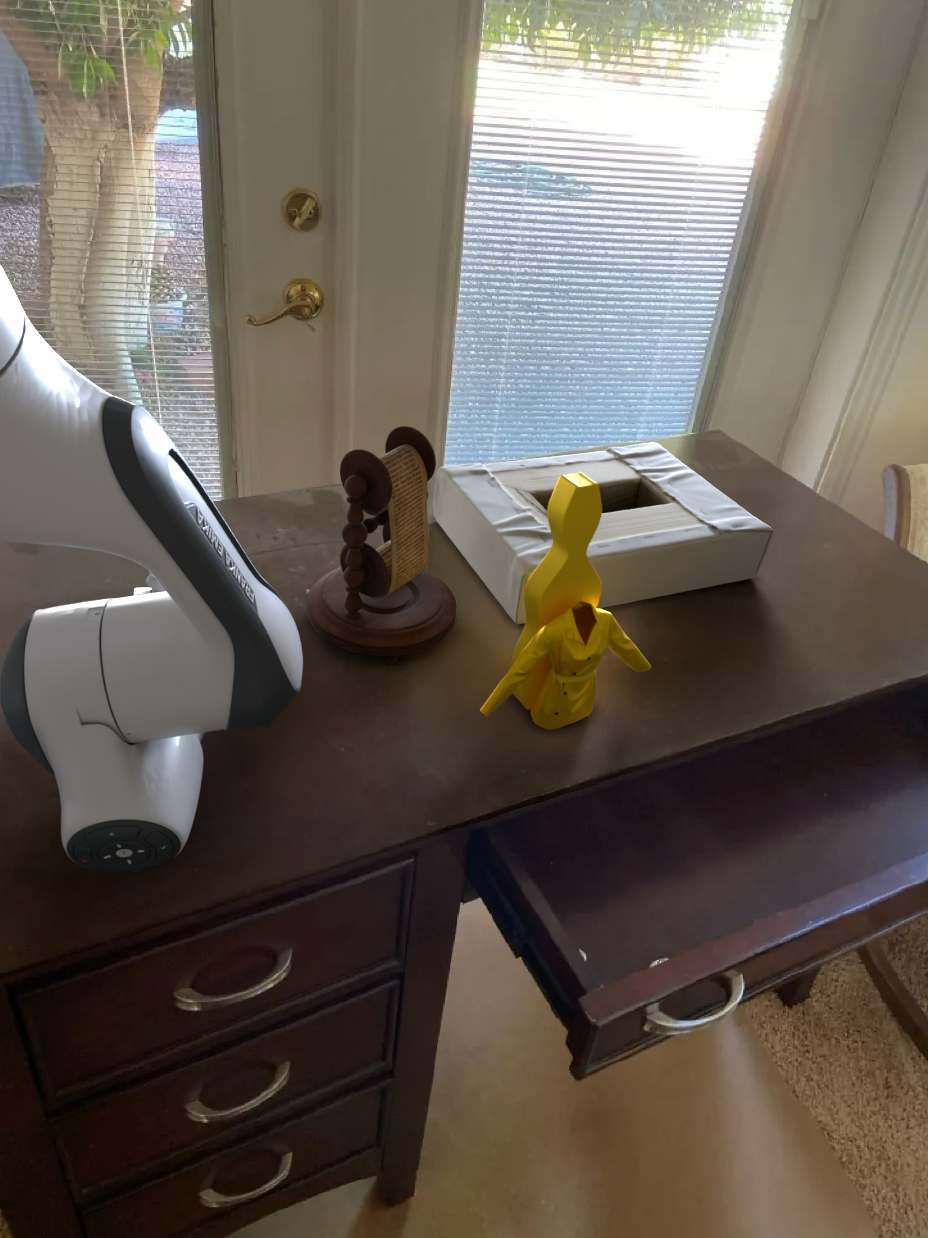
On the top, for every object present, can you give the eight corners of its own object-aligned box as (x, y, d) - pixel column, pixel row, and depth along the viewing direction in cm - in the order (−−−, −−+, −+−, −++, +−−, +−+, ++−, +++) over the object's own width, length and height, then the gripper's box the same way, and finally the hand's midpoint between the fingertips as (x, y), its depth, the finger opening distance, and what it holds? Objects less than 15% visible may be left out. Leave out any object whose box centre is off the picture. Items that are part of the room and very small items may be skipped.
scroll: (397, 689, 81) (409, 496, 70) (276, 627, 87) (268, 439, 75) (482, 616, 92) (505, 437, 80) (368, 565, 98) (374, 391, 86)
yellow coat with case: (488, 757, 75) (522, 534, 62) (447, 700, 81) (470, 484, 68) (654, 706, 83) (716, 498, 70) (607, 657, 88) (655, 455, 75)
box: (516, 632, 90) (760, 579, 103) (525, 567, 86) (779, 520, 98) (428, 523, 107) (647, 489, 119) (432, 465, 103) (658, 436, 115)
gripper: (285, 656, 70) (283, 562, 81) (4, 666, 66) (43, 565, 77) (287, 716, 74) (285, 618, 84) (21, 728, 70) (56, 624, 81)
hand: (168, 593), depth 81 cm, fingers closed on rook chess piece, 3 cm apart
